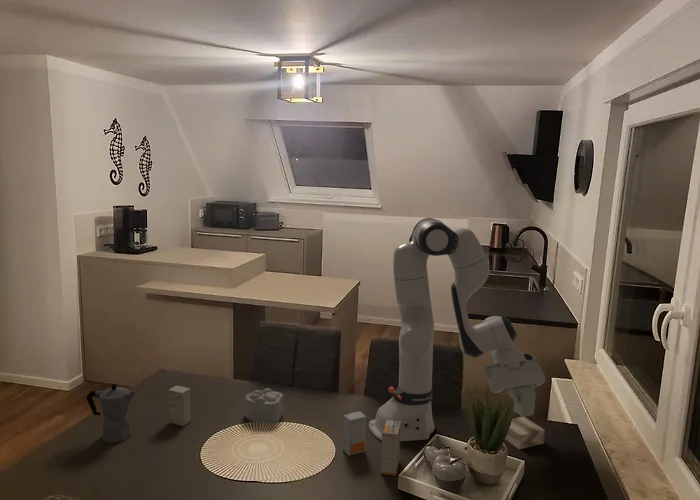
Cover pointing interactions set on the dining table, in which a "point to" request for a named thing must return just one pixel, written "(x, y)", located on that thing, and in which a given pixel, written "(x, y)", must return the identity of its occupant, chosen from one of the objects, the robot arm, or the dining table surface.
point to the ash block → (524, 433)
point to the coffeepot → (113, 412)
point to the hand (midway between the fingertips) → (525, 401)
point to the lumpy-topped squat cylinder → (264, 406)
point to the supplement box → (390, 447)
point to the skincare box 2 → (354, 433)
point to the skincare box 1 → (179, 405)
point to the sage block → (525, 401)
